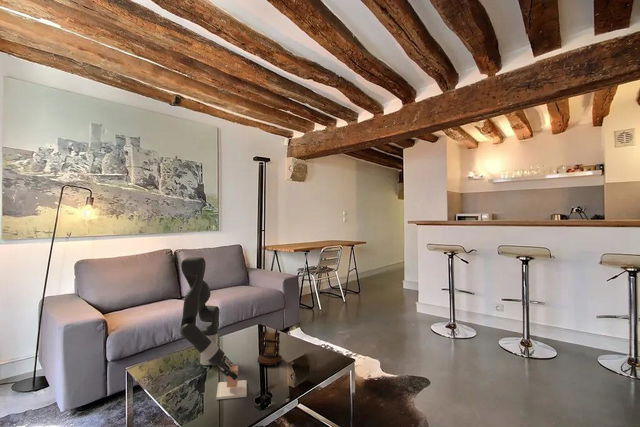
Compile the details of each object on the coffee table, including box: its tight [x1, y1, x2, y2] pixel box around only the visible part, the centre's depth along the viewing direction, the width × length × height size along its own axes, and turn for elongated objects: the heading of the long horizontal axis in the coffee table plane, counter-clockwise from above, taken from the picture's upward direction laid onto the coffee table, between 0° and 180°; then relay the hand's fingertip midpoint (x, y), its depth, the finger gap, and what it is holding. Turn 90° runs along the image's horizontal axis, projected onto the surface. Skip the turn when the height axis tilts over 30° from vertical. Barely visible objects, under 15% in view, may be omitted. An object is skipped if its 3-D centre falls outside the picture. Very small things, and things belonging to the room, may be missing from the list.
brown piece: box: [257, 328, 283, 366], centre depth 190 cm, size 15×15×20 cm
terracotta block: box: [226, 365, 239, 387], centre depth 156 cm, size 5×5×8 cm
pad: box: [215, 379, 248, 401], centre depth 156 cm, size 14×14×1 cm
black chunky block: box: [253, 393, 272, 412], centre depth 145 cm, size 12×7×5 cm, turn 137°
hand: (236, 375), depth 157 cm, fingers closed on terracotta block, 5 cm apart
